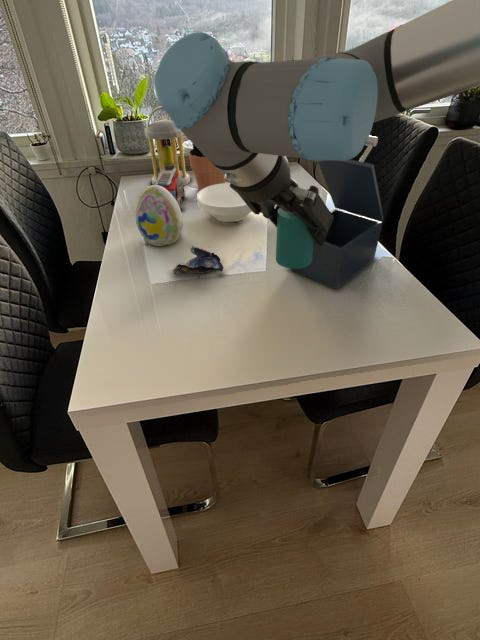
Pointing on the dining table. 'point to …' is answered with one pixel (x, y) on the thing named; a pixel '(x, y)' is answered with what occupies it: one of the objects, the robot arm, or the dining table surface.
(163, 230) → the decorative egg
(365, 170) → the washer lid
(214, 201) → the bowl
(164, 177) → the toy fire truck
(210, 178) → the potted plant
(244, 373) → the dining table surface
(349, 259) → the open box
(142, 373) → the dining table surface
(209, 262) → the snack package
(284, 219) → the detergent bottle
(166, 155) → the lantern
